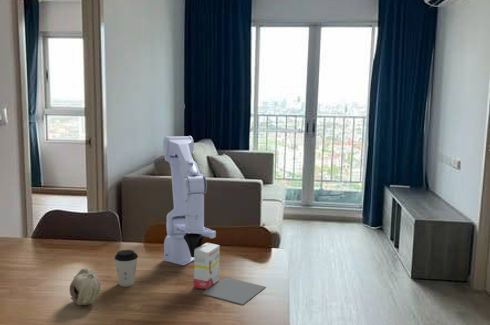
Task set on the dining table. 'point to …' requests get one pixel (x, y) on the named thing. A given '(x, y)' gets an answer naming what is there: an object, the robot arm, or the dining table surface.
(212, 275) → the ink box
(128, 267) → the coffee cup
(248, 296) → the mat
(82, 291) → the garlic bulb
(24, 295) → the dining table surface
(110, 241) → the dining table surface
